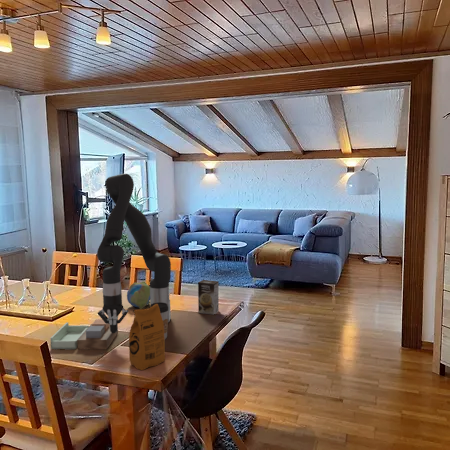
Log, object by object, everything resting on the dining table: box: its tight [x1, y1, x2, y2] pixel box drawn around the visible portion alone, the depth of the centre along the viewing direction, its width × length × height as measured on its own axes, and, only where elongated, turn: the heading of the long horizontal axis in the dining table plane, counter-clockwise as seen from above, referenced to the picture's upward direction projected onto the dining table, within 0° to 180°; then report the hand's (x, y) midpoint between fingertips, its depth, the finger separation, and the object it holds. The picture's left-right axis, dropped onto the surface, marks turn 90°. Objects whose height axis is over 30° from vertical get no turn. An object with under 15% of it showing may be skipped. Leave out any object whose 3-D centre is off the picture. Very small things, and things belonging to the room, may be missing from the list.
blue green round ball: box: [126, 281, 150, 309], centre depth 230 cm, size 14×16×15 cm
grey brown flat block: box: [77, 323, 119, 350], centre depth 185 cm, size 12×18×4 cm, turn 0°
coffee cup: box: [148, 302, 169, 340], centre depth 186 cm, size 8×8×15 cm
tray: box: [49, 322, 90, 351], centre depth 185 cm, size 10×18×5 cm, turn 0°
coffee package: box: [128, 304, 166, 371], centre depth 162 cm, size 10×12×22 cm
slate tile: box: [86, 325, 105, 338], centre depth 180 cm, size 6×6×3 cm
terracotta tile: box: [91, 318, 110, 331], centre depth 188 cm, size 6×6×3 cm
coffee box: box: [197, 279, 220, 316], centre depth 220 cm, size 9×6×16 cm
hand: (114, 332), depth 180 cm, fingers closed
